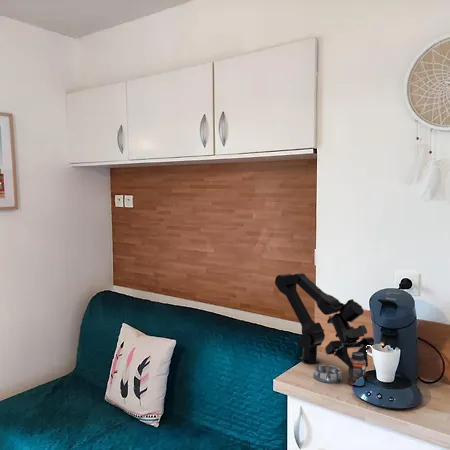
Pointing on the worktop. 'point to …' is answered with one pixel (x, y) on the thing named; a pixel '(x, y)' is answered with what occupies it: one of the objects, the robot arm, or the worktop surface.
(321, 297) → the robot arm
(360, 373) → the supplement bottle
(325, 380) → the ring collar
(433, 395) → the worktop surface
